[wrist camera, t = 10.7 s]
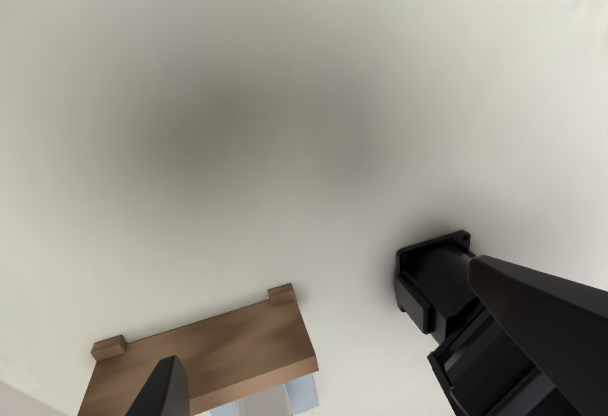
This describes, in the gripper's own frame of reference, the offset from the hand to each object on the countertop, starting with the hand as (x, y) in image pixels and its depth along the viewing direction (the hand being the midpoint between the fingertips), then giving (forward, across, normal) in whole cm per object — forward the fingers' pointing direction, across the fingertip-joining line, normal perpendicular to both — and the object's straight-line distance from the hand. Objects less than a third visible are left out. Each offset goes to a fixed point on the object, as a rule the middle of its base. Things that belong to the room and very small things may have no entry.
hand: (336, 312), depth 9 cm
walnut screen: (+12, +7, +10) cm, 18 cm away
